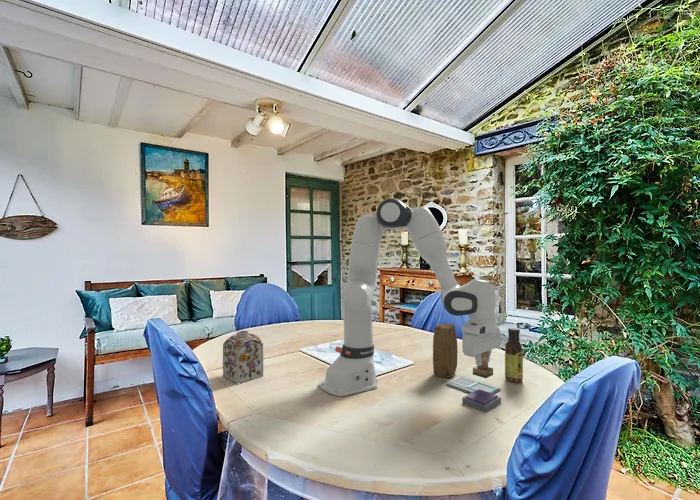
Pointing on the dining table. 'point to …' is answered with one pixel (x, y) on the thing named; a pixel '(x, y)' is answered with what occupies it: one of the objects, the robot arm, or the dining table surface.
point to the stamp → (483, 367)
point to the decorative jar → (242, 357)
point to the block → (444, 350)
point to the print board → (472, 385)
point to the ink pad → (481, 400)
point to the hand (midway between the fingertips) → (482, 363)
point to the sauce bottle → (513, 357)
